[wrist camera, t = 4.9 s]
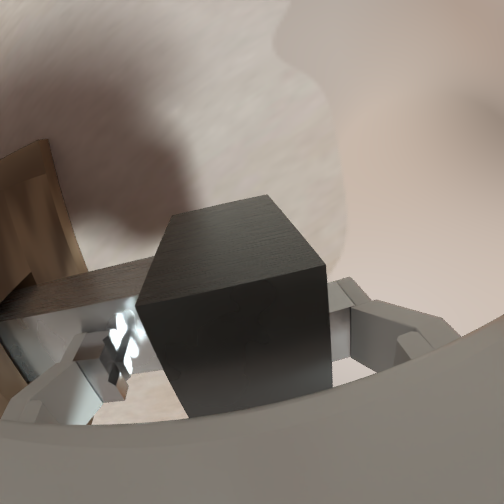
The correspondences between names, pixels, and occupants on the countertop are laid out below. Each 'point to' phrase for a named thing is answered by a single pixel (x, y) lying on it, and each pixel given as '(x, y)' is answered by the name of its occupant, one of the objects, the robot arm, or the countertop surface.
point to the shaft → (196, 311)
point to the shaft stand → (32, 237)
